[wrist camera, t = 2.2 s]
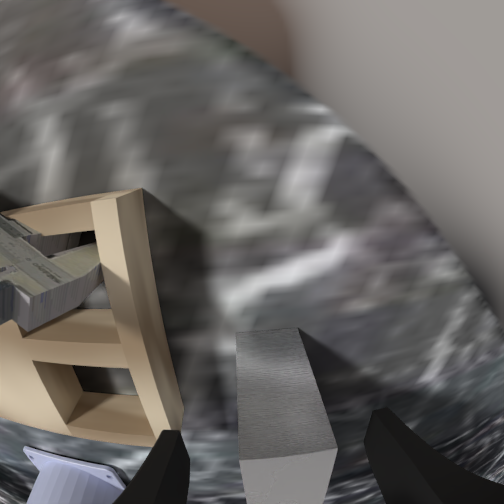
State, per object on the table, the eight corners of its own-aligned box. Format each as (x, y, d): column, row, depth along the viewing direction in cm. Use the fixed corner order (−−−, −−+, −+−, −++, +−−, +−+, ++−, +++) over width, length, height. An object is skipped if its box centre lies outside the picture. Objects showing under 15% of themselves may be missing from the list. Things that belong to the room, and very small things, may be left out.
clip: (293, 429, 14) (314, 528, 8) (246, 434, 14) (253, 535, 8) (297, 327, 12) (337, 448, 6) (236, 332, 12) (238, 460, 6)
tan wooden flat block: (184, 408, 13) (178, 448, 11) (2, 386, 13) (-16, 411, 10) (141, 187, 10) (115, 197, 8) (-55, 225, 10) (-86, 239, 7)
